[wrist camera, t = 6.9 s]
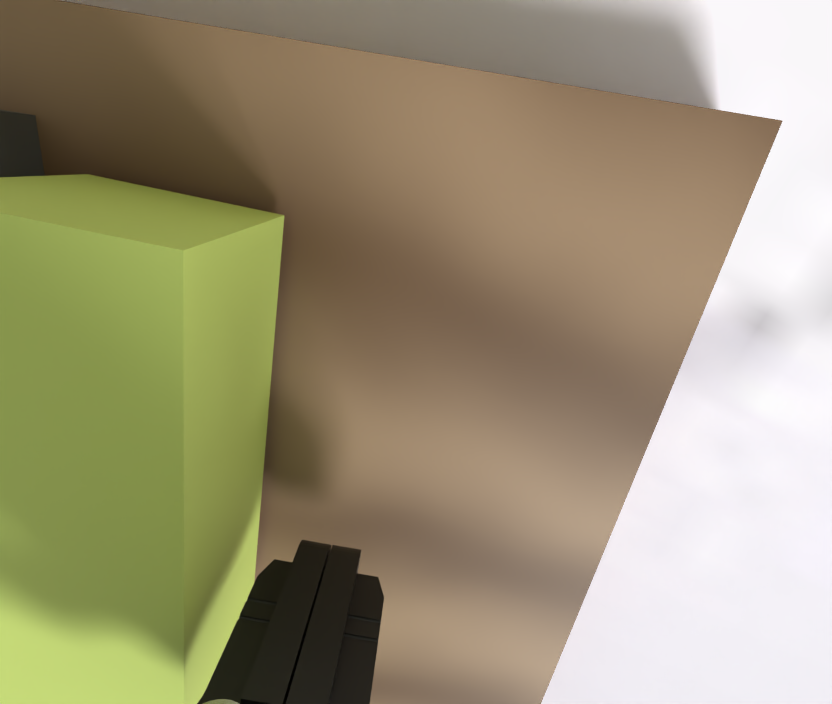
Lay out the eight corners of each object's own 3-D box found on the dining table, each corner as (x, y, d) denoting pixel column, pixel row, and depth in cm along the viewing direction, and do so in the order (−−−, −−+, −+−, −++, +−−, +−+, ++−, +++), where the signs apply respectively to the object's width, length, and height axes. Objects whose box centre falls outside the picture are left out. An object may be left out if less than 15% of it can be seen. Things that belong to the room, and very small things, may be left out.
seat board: (494, 741, 20) (511, 919, 15) (123, 688, 19) (25, 851, 15) (721, 127, 10) (946, 101, 6) (16, 11, 10) (-335, -114, 6)
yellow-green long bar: (239, 761, 17) (184, 926, 13) (132, 742, 17) (46, 904, 13) (284, 215, 9) (183, 250, 6) (87, 173, 9) (-147, 182, 6)
